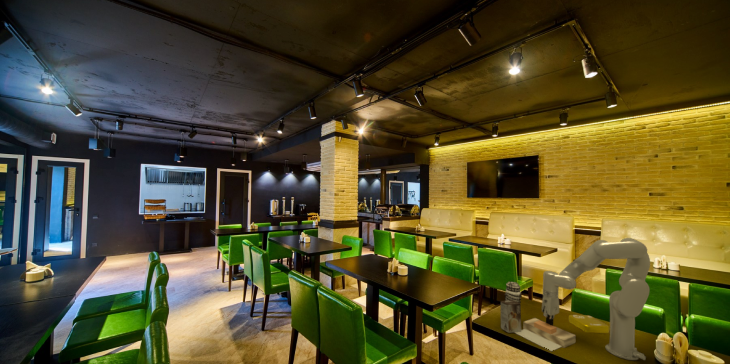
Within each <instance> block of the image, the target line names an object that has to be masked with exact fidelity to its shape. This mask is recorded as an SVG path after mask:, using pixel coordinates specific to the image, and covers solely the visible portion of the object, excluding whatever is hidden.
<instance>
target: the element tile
mask: <svg viewBox="0 0 730 364" xmlns="http://www.w3.org/2000/svg"><path fill="white" fill-rule="evenodd" d="M568 322H569V323H570V324H572V325H573V326H575V327H576V328H578V329H579V330H581V331H583V332H585V333H589V334H610V325H608V324H606V323H604V321H603V322H602V321H601V320H599V319H597V318H595V317H593V316H591V315H588V314H587V315H586V314H585V315H583V314H569V315H568Z"/></svg>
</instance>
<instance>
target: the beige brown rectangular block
mask: <svg viewBox="0 0 730 364" xmlns="http://www.w3.org/2000/svg"><path fill="white" fill-rule="evenodd" d="M537 321H542V320H540V319H539V318H536V317H533V318H531V319H528V320H525V321H523V324H522V325H523V326H522V327H523V329H526V330H529V331H531V332H533V333H535V334H537V335H539V336H541V337H543V338H545V339H548V340H550V341H552V342H554V343H556V344H558V345H560V346H562V347H561V348H563V349H564V348H567V347H569V346H572V345H574V344H575V343H576V340H577V339H576V334H574V333H571V332H569V331H567V330H564V329H561V328H560V327H557V330H556V332H555V333H552V334H549V333H547V332H544V331H542V330H540V329H538V328H536V327H534V322H537ZM544 322H545V323H546V321H544ZM553 326H554V327H556V326H555V325H553ZM523 329H522V330H523Z"/></svg>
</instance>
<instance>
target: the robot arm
mask: <svg viewBox="0 0 730 364" xmlns="http://www.w3.org/2000/svg"><path fill="white" fill-rule="evenodd" d="M606 259H608V260H625V259H626V262H625V266H624V268H623V271H622V273H621V275H620V277H619V279H618V282H619V283H618V284H619V286H620V287H621V290H615V291H613V292H611V294H610V295H609V297H608V298H609V302H608V303H609V343H607V344H605V350H606V351H607V352H608V353H610V354H611V355H614V356H615V357H618V358H621V359H623V360H628V361H638V360H639V359H641V360H643V361H646V358H647V356H645V354H644V353H641V352H639V351H638V350H637V347H635V335H636V331H635V329H636V328H635V327H636V317H638V316H640V314H641V313H642V311H643V309H644V307H645V305H646V302H647V300H648V298H649V295H650V286H649V284H648V283H647V282H646V278H647V276H648V273H649V270H650V267H651V257H650V255H649V253H648V248H647V246H646V245H645V244H644V243H643V242H642V241H639V240H638V239H635V238H631V237H625V238H623V239H621V240H620V241H612V242H611V241H607V240H604V239H599V240H596V241H594V242H593V243H592V244H591V245H590V246H589V247H588V248H587V249H586V250H585V251H583V252H582V253H581V255H580V256H579V257H577V258H575V259H574V260H573V261H572V262H570V263H569V264H568V265H566V267H565V268H563V269H562V270H561V271H560V273H557V272H555V271H551V270H545V271H543V275H542V276H543V277H542V279H543V281H542V283H543V284H542V302H541V312H542V313H543V316H544V317H545V322H546V323H547V324H550V325H552V326H554V318H555V315H557V314H559V313H560V298H559V291H560V290H559V289H560V288H562V289H565V290H573V289H575V288H576V286H577V281H576V280H577V279H578V278H579V277H580V276H581V275H582V274H584V273H586V272H588V271H592V270H595V269H596V268H597V267H598V266H599V265H600V264H601V263H603V262H604V261H605V260H606Z"/></svg>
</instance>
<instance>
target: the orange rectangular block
mask: <svg viewBox="0 0 730 364" xmlns="http://www.w3.org/2000/svg"><path fill="white" fill-rule="evenodd" d="M545 322H546V321H543V320H541V321H537V322H534V327H536V328H538V329H540V330H542V331H544V332H547V333H549V334H552V333H555V332H556V330H557V328H558V326H555V325H553V326H552V325H550V324H547V323H545ZM554 326H555V327H554Z"/></svg>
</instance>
